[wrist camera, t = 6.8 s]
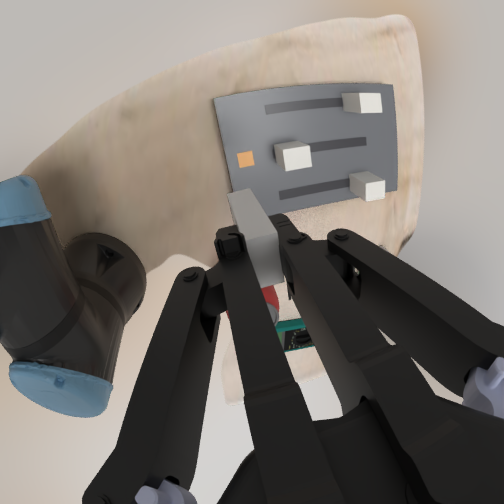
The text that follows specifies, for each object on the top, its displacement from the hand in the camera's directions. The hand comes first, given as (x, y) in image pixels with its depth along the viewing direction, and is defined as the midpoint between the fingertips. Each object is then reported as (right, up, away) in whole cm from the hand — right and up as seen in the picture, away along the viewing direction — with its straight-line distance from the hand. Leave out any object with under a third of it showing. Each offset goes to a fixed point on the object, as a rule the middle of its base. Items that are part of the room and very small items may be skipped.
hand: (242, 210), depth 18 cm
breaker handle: (+5, +9, +13) cm, 17 cm away
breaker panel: (+9, +12, +16) cm, 22 cm away
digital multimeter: (+10, -18, +34) cm, 39 cm away
